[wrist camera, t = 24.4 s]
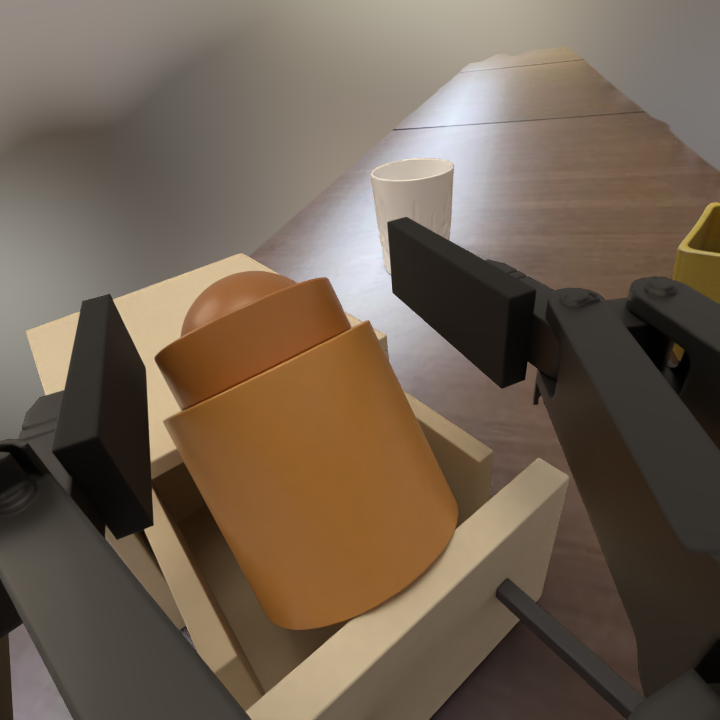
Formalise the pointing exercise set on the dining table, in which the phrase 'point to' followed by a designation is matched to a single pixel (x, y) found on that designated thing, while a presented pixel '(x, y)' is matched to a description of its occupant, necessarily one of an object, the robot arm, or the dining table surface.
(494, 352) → the robot arm
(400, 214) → the white cup
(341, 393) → the orange dome-capped jar
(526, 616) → the drawer
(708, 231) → the flower pot
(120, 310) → the cabinet
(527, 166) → the dining table surface
